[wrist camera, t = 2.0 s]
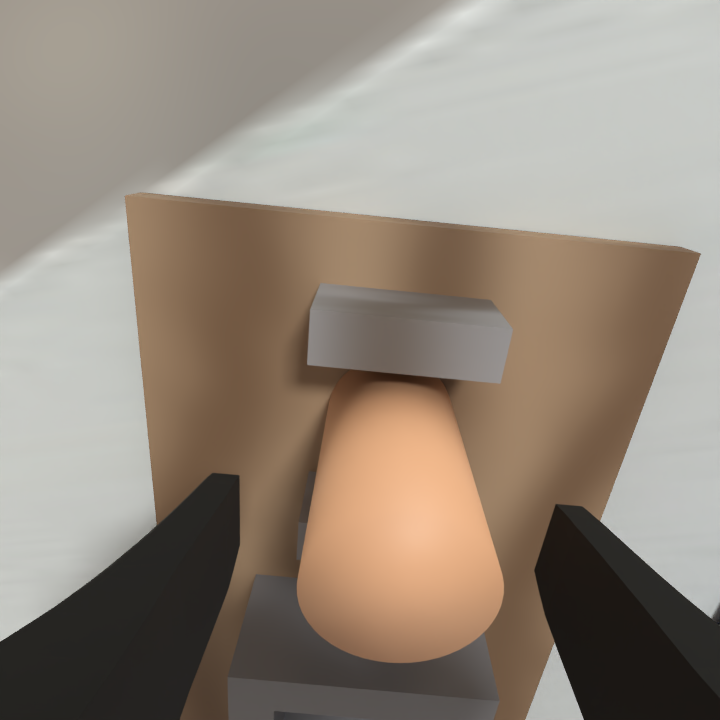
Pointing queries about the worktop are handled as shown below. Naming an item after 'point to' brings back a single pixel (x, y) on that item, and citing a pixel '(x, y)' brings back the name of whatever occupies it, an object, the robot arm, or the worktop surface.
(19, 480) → the worktop surface
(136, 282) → the dock board
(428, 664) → the socket
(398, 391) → the peg
